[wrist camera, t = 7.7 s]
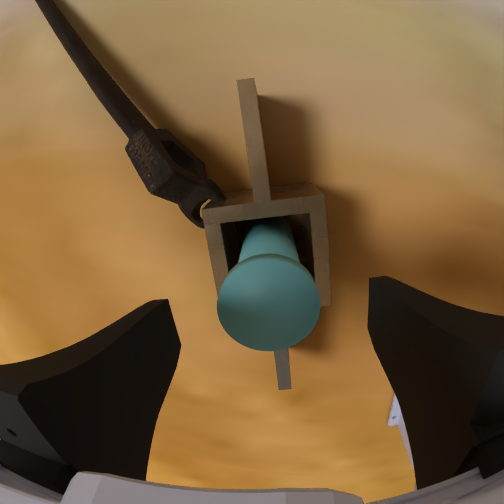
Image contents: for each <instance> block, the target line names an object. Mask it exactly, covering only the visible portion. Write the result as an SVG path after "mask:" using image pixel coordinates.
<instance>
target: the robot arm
mask: <svg viewBox="0 0 504 504" xmlns="http://www.w3.org/2000/svg"><path fill="white" fill-rule="evenodd" d="M368 331H369V334H370V337H371V341H372V344H373V347H374V350H375V352H376V354H377V356H378V358H379V360H380V362H381V365H382V367H383V369H384V371H385V373H386V375H387V377H388V380H389V382H390V384H391V386H392V388H393V390H394V398H393V402H392V406H391V411H390V415H389V419H388V425H389V426H393V425H398V428H399V430H400V433H401V436H402V439H403V442H404V445H405V448H406V450H407V453H408V456H409V459H410V462H411V465H412V466H413V468H414V471H415V478H416V484H415V488H414V491H413V492H410V493H406V494H403V495H399V496H395V497H392V498H388V499H384V500H379V501H375V502H371V503H366V504H504V316H498V315H493V314H487V313H482V312H478V311H474V310H470V309H467V308H463V307H460V306H457V305H454V304H451V303H448V302H446V301H443V300H440V299H438V298H435V297H433V296H431V295H428V294H426V293H424V292H422V291H419V290H417V289H415V288H413V287H411V286H409V285H407V284H404V283H402V282H400V281H398V280H395V279H393V278H390V277H387V276H381V277H374V278H369V306H368ZM180 349H181V342H180V339H179V336H178V332H177V329H176V326H175V322H174V319H173V315H172V312H171V308H170V305H169V301H168V299H161V300H152V301H149V302H147V303H145V304H144V305H142V306H140V307H138V308H137V309H135V310H133V311H132V312H130V313H129V314H127V315H125V316H124V317H122V318H121V319H119V320H117V321H116V322H114V323H112V324H111V325H109V326H107V327H106V328H104V329H102V330H100V331H99V332H97V333H95V334H94V335H92V336H90V337H88V338H86V339H84V340H82V341H80V342H78V343H75V344H73V345H71V346H69V347H66V348H64V349H61V350H58V351H55V352H53V353H50V354H47V355H44V356H41V357H38V358H34V359H30V360H26V361H22V362H17V363H12V364H5V365H0V439H1V440H0V504H364V502H363V500H362V498H361V497H358V496H356V495H354V494H350V493H345V492H341V491H337V490H333V489H329V488H278V489H213V488H198V487H186V486H177V485H169V484H161V483H154V482H148V481H146V474H147V466H148V460H149V454H150V448H151V443H152V438H153V434H154V429H155V425H156V421H157V418H158V415H159V412H160V409H161V406H162V404H163V401H164V399H165V396H166V393H167V391H168V388H169V386H170V383H171V380H172V378H173V375H174V372H175V370H176V367H177V363H178V359H179V354H180Z"/></svg>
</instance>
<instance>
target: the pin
mask: <svg viewBox="0 0 504 504" xmlns="http://www.w3.org/2000/svg"><path fill="white" fill-rule="evenodd" d="M320 307H321V304H320V297H319V293H318V290H317V287H316V284H315V281H314V279H313V277H312V276H311V274H310V273H309V271H308V270H307V269H306V268H305V267H304V266H303V265H302V264H300V262H299V258H298V254H297V250H296V246H295V242H294V239H293V235H292V231H291V227H290V225H289V223H288V222H287V220H286V219H285V218H284V217H282V216H276V217H267V218H259V219H252V220H251V221H250V222H249V224H248V226H247V229H246V233H245V237H244V241H243V245H242V249H241V253H240V257H239V261H238V264H237V265H235V266H234V267H233V268H232V269H231V270H230V271H229V273H228V274H227V275H226V277H225V279H224V281H223V284H222V286H221V289H220V293H219V296H218V301H217V312H218V317H219V320H220V322H221V325H222V326H223V328H224V329H225V331H226V332H227V333H228V334H229V335H230V336H231V337H232V338H233V339H234V340H235V341H237V342H238V343H240V344H242V345H244V346H246V347H248V348H252V349H255V350H260V351H276V350H282V349H286V348H289V347H291V346H293V345H295V344H297V343H299V342H300V341H302V340H303V339H304V338H306V337H307V336H308V335H309V334H310V333H311V331H312V330H313V329H314V327H315V325H316V323H317V321H318V318H319V315H320Z"/></svg>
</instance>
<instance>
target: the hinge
mask: <svg viewBox="0 0 504 504" xmlns="http://www.w3.org/2000/svg"><path fill="white" fill-rule="evenodd" d="M237 86H238V92H239V99H240V106H241V113H242V120H243V127H244V134H245V141H246V148H247V155H248V162H249V169H250V176H251V183H252V189H250V190H243V191H235V192H228V193H223V194H224V195H225V197H226V198H227V199H226V200H223V201H220V202H215V201H214V200H211V201H210V202H209V203H208V204H207V205H206V206H205V207H204V208H203V209H202V216H203V222H204V227H205V233H206V238H207V243H208V249H209V254H210V259H211V264H212V270H213V275H214V280H215V285H216V290H217V295H218V296H219V293H220V289H221V286H222V284H223V281H224V279H225V277H226V275H227V274H228V273H229V271H230V270H231V269H232V268H233V267H234V266H235V265H237V264H238V261H239V257H240V254H239V248H238V242H237V235H236V229H235V222H234V221H242V220H250V219H259V218H267V217H276V216H285V215H294V214H302V221H303V231H304V243H305V254H306V261H299V262H300V264H302V265H303V266H304V267H305V268H306V269H307V270H308V271H309V273H310V274H311V276H312V277H313V279H314V281H315V284H316V287H317V290H318V293H319V297H320V304H321V307H322V306H330V305H331V288H330V264H329V246H328V230H327V216H326V204H325V195H324V194H323V193H322V192H321V191H320V190H319V189H318V188H317V187H315V186H314V185H313V184H312V183H302V184H293V185H284V186H275V187H270V180H269V172H268V165H267V157H266V150H265V143H264V136H263V128H262V121H261V114H260V108H259V101H258V94H257V90H256V85H255V81H254V78H249V79H242V80H237ZM274 355H275V363H276V371H277V379H278V387H279V390H284V389H291V378H290V363H289V350H288V348H286V349H282V350H276V351H274Z"/></svg>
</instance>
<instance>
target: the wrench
mask: <svg viewBox="0 0 504 504" xmlns="http://www.w3.org/2000/svg"><path fill="white" fill-rule="evenodd" d="M35 1H36V3H37V4H38V6H39V8H40V9H41V11H42V12H43V14H44V16H45V17H46V19H47V21H48V23H49V24H50V26H51V27H52V29H53V31H54V32H55V34H56V36H57V37H58V39H59V40H60V42H61V43H62V45H63V47H64V48H65V50H66V51H67V53H68V54H69V56H70V57H71V59H72V60H73V62H74V63H75V65H76V66H77V68H78V69H79V71H80V72H81V74H82V75H83V77H84V78H85V79H86V81H87V83H88V84H89V86H90V87H91V89H92V90H93V92H94V93H95V95H96V96H97V98H98V99H99V100H100V102H101V103H102V104H103V106H104V107H105V108H106V110H107V111H108V112H109V114H110V115H111V116H112V118H113V119H114V120H115V121H116V123H117V124H118V125H119V127H120V128H121V129H122V130H123V132H124V133H125V134H126V135H127V137H128V138H129V142H128V144H127V145H126V147H125V150H126V152H127V154H128V156H129V158H130V159H131V162H132V163H133V165H134V167H135V169H136V171H137V172H138V174H139V176H140V178H141V179H142V181H143V183H144V184H145V186H146V188H147V190H148V191H149V192H150V193H151V194H152V195H155V196H158V197H160V198H163V199H166V200H169V201H171V202H174V203H176V204H178V206H179V208H180V209H181V211H182V212H183V213H184V215H185V216H186V217H187V218H188V219H189V220H190V221H191V222H193V223H194V224H195V225H196V226H198V227H200V228H203V229H204V228H205V227H204V222H203V219H202V218H201V217H200V208H201V206H202V204H203V203H204V202H206V201H207V200H208V199H212V200H214V201H215V202H220V201H223V200H226V199H227V198H226V197H225V195H224V194H223V192H222V191H221V189H220V188H219V187H218V186H217V185H216V184H215V182H213V181H212V180H210V179H208V178H207V175H206V171H205V165H204V163H203V162H202V161H201V160H200V159H199V158H198V157H196V156H195V155H194V154H193V153H192V152H191V151H190V150H189V149H188V148H186V147H185V146H184V145H183V144H182V143H181V142H180V141H179V140H178V139H177V138H175V137H174V136H173V135H172V134H171V133H170V132H169V131H168V130H166V129H155V128H154V127H153V126H152V125H151V124H150V123H149V121H148V120H147V119H146V118H145V117H144V116H143V114H142V113H141V112H140V111H139V110H138V109H137V107H136V106H135V105H134V104H133V103H132V102H131V100H130V99H129V98H128V97H127V96H126V95H125V93H124V92H123V91H122V90H121V89H120V87H119V86H118V85H117V84H116V82H115V81H114V80H113V79H112V77H111V76H110V75H109V74H108V73H107V71H106V70H105V69H104V68H103V66H102V65H101V64H100V63H99V61H98V60H97V59H96V57H95V56H94V55H93V54H92V52H91V51H90V50H89V49H88V47H87V46H86V45H85V43H84V42H83V41H82V39H81V38H80V37H79V36H78V34H77V33H76V31H75V30H74V29H73V27H72V26H71V25H70V23H69V22H68V21H67V19H66V18H65V16H64V15H63V14H62V12H61V11H60V10H59V8H58V7H57V6H56V4H55V3H54V2H53V0H35Z"/></svg>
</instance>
